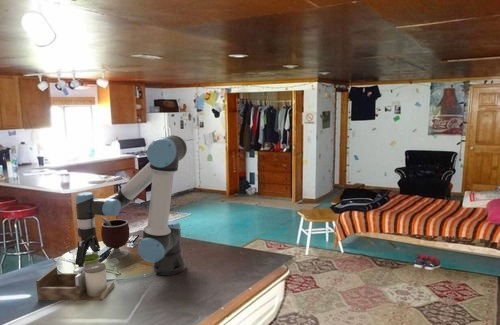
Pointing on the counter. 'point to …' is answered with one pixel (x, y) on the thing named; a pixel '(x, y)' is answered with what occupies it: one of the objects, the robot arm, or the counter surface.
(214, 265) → the counter surface
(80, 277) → the pusher
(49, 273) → the wooden organizer tray
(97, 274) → the cream jar
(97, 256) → the plant pot
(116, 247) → the mate gourd
